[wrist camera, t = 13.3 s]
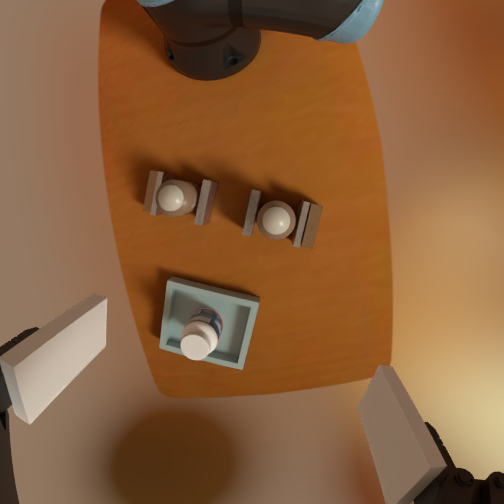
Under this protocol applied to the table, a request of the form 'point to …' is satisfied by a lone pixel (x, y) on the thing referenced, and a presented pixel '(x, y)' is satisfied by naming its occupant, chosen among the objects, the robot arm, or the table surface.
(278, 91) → the table surface
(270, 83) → the table surface
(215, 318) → the pill bottle
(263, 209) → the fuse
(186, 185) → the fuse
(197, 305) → the tray
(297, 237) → the clip rail
